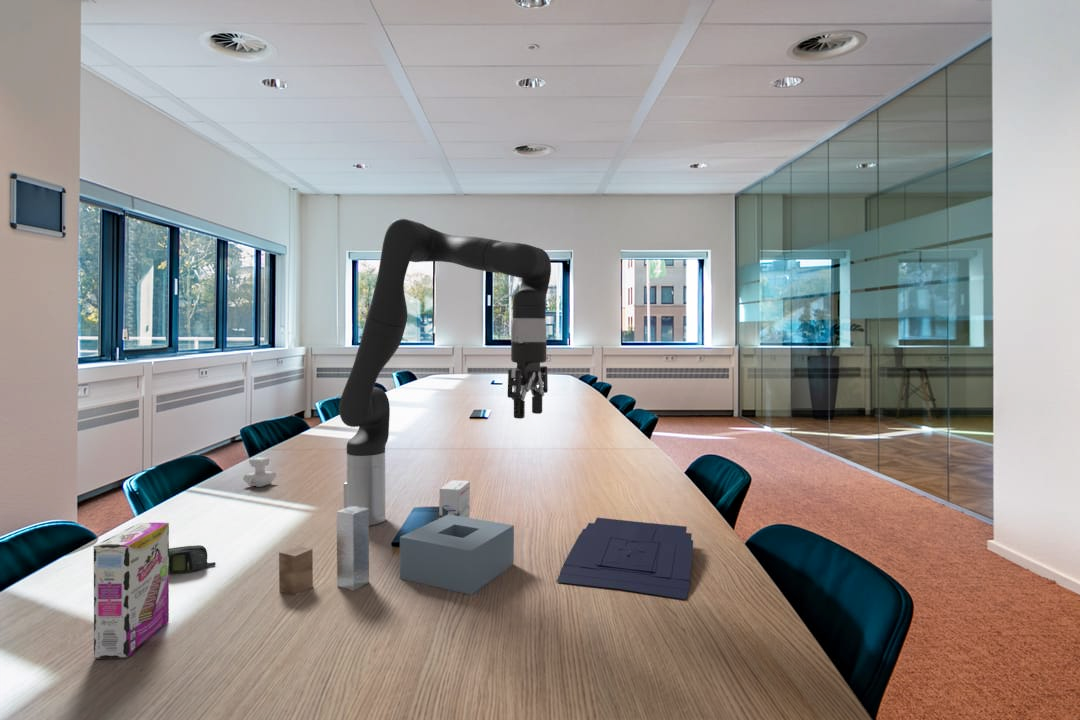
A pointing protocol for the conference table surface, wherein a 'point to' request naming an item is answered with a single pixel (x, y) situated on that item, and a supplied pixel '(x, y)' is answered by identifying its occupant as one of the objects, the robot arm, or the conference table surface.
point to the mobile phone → (187, 559)
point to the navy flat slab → (631, 557)
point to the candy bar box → (130, 589)
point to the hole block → (457, 553)
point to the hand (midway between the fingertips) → (528, 415)
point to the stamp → (259, 473)
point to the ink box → (455, 499)
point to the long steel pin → (352, 547)
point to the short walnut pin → (295, 569)
